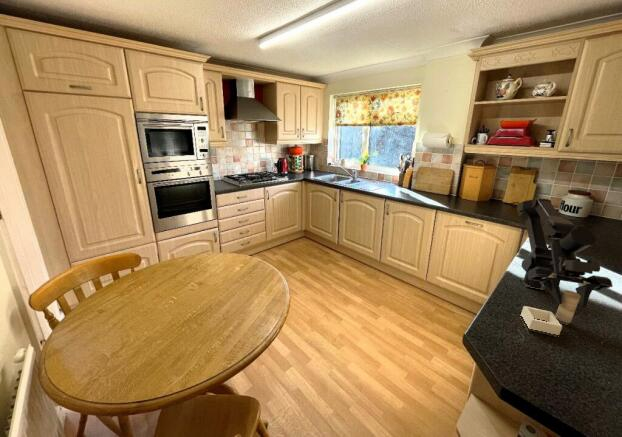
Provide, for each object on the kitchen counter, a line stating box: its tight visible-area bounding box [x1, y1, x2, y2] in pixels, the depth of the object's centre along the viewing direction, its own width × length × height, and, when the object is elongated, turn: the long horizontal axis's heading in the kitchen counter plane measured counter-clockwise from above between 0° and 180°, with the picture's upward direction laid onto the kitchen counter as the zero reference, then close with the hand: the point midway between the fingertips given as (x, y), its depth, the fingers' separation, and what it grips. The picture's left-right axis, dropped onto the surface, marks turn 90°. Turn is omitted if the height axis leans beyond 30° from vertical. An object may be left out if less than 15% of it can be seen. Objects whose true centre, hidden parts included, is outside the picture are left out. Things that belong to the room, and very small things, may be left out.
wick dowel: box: [554, 290, 581, 324], centre depth 81 cm, size 4×4×10 cm
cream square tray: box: [520, 305, 563, 336], centre depth 79 cm, size 7×7×4 cm
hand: (571, 306), depth 79 cm, fingers open, 5 cm apart
